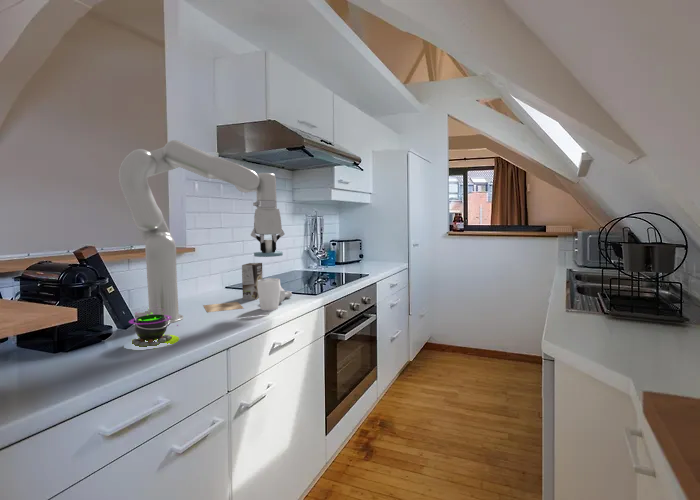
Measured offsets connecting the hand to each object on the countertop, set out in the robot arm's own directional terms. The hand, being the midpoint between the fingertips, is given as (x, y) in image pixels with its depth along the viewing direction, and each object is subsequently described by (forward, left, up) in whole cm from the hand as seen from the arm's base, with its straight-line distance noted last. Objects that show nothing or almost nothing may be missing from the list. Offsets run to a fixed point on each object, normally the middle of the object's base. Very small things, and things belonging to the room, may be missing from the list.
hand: (268, 251), depth 159 cm
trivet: (-16, +12, -23) cm, 31 cm away
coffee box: (-1, +25, -23) cm, 34 cm away
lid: (0, 0, -1) cm, 1 cm away
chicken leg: (+8, +14, -23) cm, 28 cm away
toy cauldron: (-42, -25, -23) cm, 54 cm away
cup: (0, 0, -23) cm, 23 cm away
